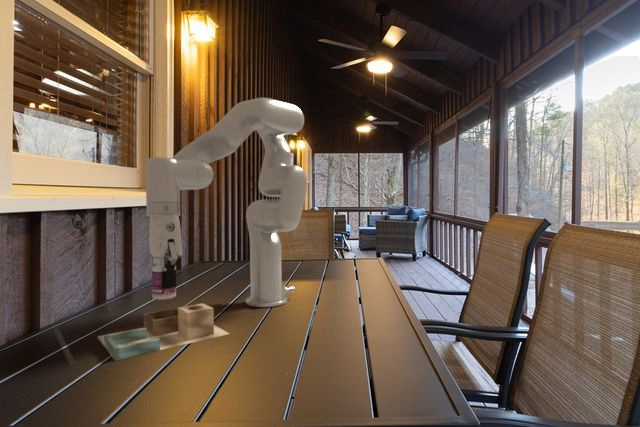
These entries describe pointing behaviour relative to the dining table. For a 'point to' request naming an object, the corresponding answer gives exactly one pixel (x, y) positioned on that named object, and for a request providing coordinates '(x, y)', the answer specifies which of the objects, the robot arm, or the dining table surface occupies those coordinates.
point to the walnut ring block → (161, 322)
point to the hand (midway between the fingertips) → (164, 285)
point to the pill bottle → (156, 283)
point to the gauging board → (146, 342)
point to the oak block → (195, 321)
